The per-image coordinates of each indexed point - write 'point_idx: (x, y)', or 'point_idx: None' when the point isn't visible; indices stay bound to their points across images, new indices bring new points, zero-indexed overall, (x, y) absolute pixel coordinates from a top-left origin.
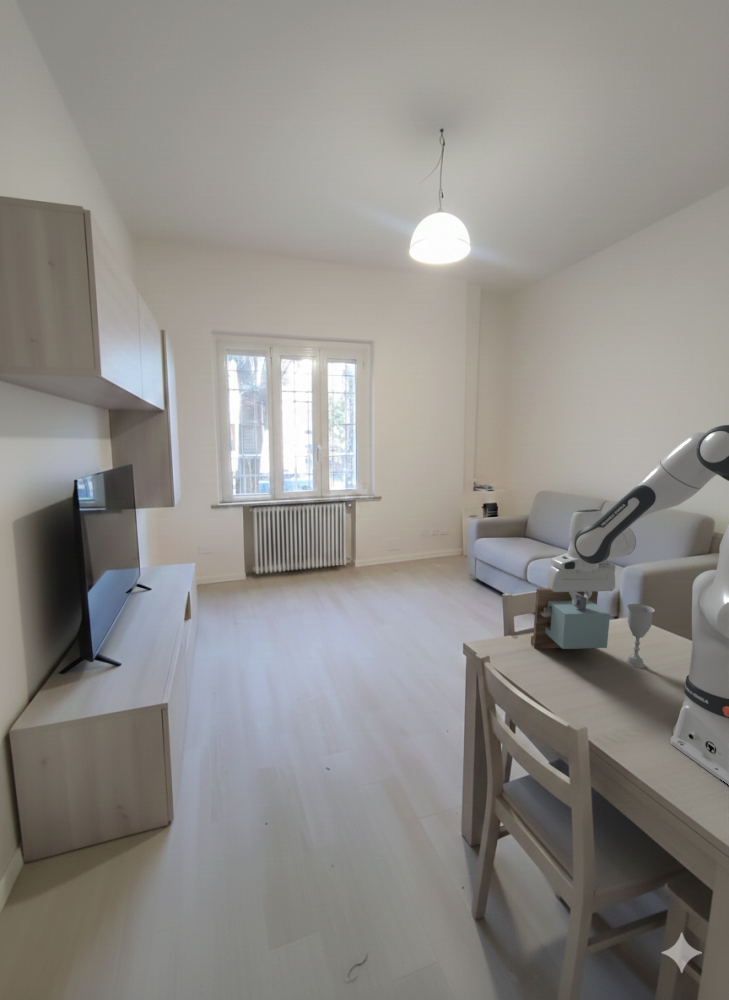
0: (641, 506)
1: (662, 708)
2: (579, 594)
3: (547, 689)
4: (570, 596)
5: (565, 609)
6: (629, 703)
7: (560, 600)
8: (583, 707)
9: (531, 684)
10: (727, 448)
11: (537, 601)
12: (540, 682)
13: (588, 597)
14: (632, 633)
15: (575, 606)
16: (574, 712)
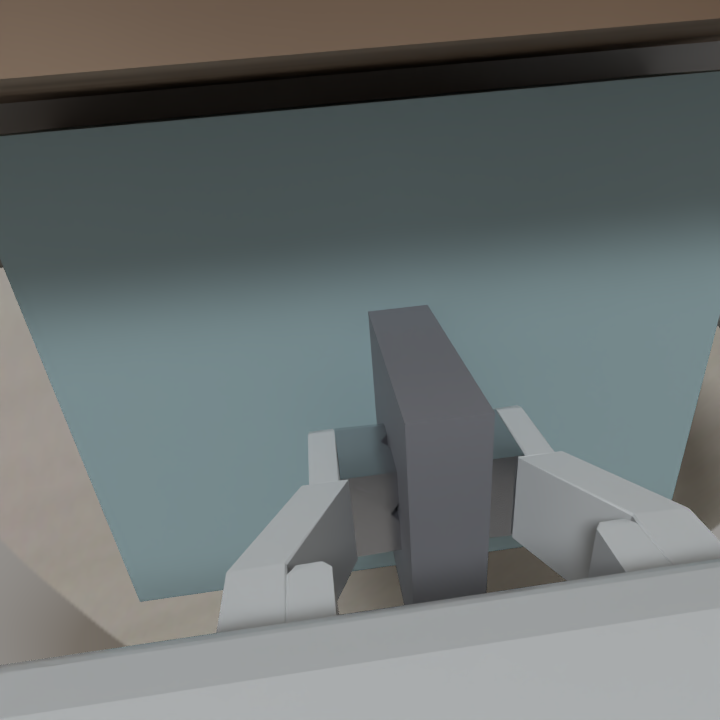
0: None
1: (489, 576)
2: (472, 502)
3: (100, 527)
4: (450, 54)
5: (187, 479)
6: (394, 567)
7: (230, 75)
8: (214, 604)
9: (30, 503)
10: None
11: None
12: (76, 485)
13: (568, 566)
14: None
15: (373, 374)
16: (171, 629)
